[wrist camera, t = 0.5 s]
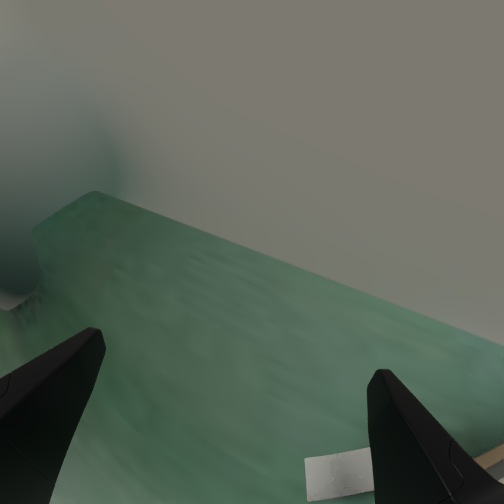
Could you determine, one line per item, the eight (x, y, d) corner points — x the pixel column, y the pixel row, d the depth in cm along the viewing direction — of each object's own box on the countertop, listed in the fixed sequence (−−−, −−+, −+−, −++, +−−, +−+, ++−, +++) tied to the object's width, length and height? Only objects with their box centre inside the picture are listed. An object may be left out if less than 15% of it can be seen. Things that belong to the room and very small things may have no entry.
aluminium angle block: (407, 444, 17) (427, 430, 14) (418, 529, 11) (442, 535, 8) (306, 465, 18) (304, 458, 15) (311, 553, 12) (310, 568, 9)
